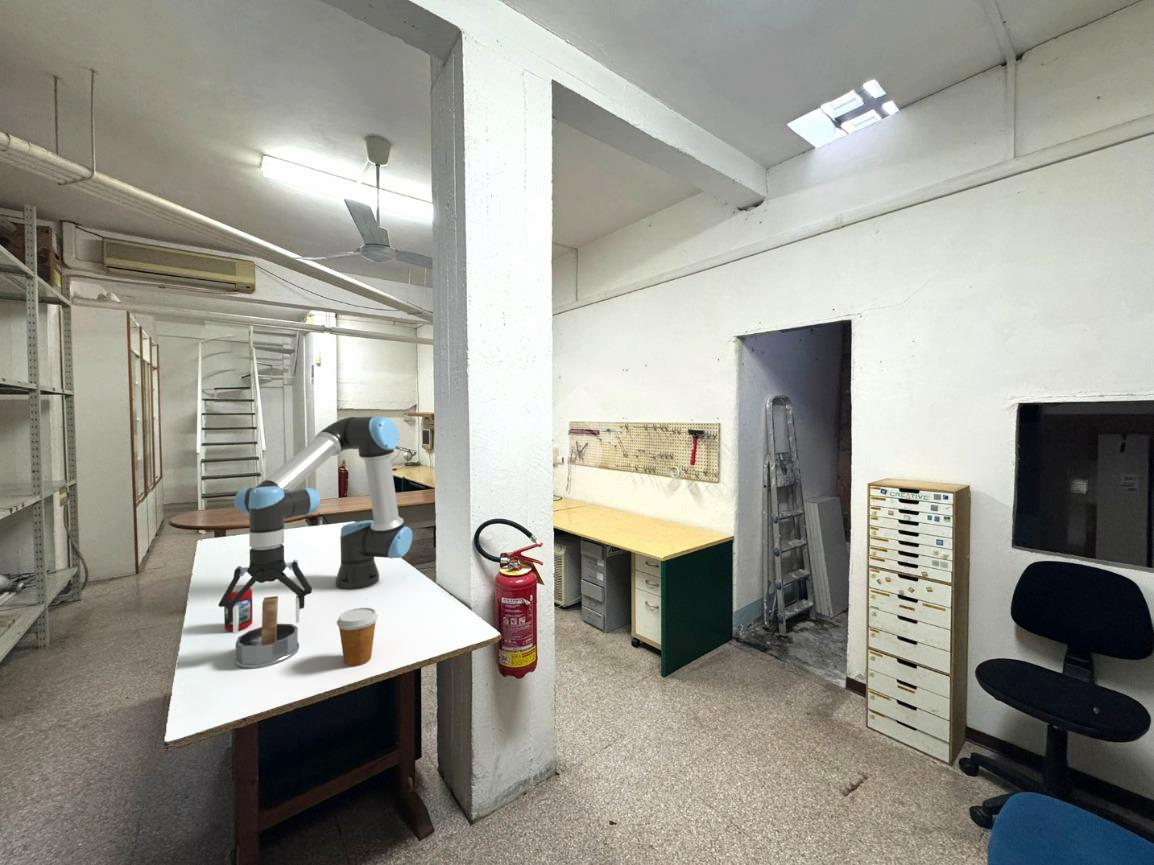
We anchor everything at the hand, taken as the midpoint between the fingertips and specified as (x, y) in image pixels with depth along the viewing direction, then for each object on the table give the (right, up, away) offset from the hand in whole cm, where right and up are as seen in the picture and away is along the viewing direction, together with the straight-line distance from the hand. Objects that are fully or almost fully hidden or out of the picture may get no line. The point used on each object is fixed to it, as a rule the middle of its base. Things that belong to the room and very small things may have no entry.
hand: (267, 626), depth 120 cm
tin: (0, -8, 0) cm, 8 cm away
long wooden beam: (0, -7, 0) cm, 7 cm away
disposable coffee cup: (+25, -8, -3) cm, 26 cm away
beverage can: (-20, -7, +16) cm, 26 cm away
